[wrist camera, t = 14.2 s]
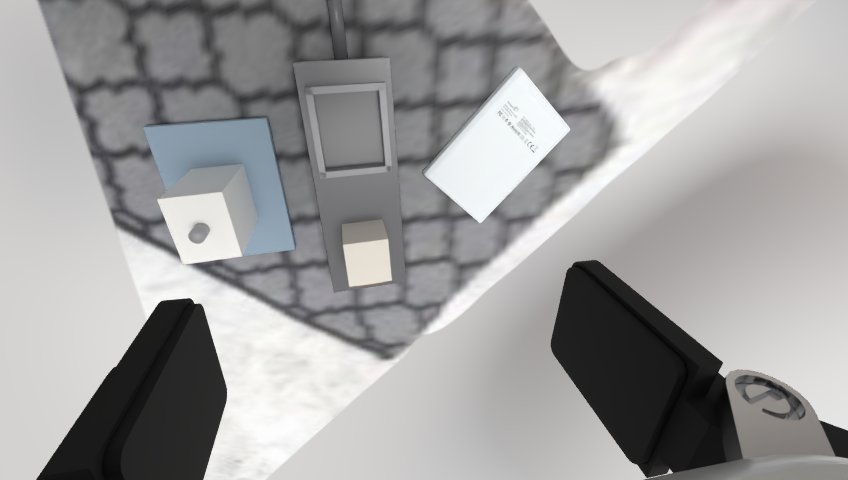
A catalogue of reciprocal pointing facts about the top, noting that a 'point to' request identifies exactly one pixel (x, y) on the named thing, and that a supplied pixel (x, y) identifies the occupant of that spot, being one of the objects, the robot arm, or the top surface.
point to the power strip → (353, 162)
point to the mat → (229, 146)
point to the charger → (210, 213)
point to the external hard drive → (497, 146)
